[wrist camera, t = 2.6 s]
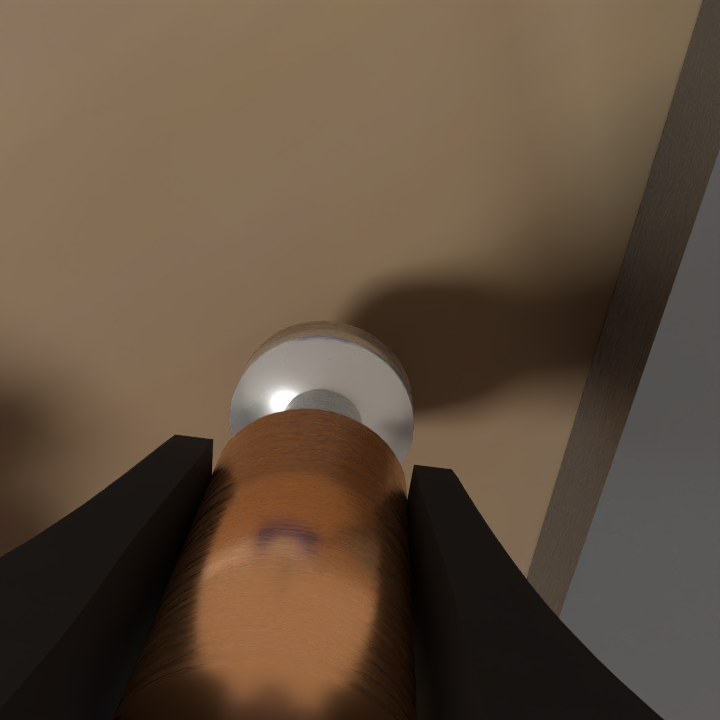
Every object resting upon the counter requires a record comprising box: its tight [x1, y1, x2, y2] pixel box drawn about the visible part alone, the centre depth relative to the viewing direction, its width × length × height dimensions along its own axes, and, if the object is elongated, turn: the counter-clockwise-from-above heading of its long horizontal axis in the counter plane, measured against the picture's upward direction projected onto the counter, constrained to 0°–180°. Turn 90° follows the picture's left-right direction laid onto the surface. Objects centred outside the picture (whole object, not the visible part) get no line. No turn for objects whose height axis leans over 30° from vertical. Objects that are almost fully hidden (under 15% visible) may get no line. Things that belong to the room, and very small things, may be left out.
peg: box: [112, 321, 417, 720], centre depth 10 cm, size 4×4×8 cm
